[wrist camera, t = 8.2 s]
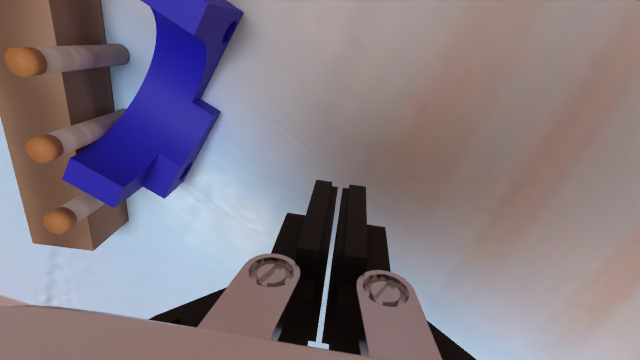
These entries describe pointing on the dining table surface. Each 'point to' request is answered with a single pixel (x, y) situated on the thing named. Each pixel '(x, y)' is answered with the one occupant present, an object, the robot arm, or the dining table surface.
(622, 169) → the dining table surface
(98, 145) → the blue curved cradle
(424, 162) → the dining table surface
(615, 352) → the dining table surface
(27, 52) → the peg rack
